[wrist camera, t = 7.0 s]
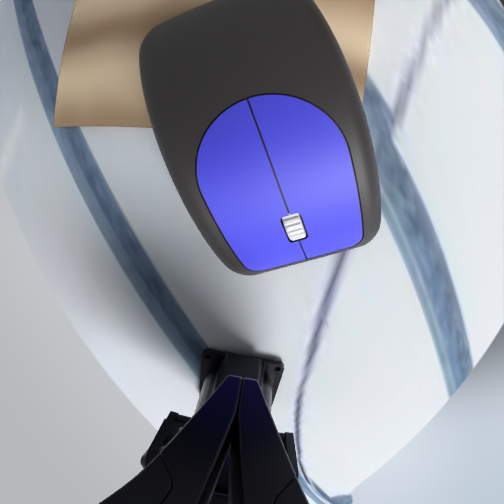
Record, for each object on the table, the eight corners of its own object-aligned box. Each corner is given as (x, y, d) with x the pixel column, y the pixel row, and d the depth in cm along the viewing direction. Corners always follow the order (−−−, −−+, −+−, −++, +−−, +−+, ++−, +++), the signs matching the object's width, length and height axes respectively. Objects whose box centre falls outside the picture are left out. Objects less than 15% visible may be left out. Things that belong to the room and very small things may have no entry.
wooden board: (349, 156, 16) (351, 157, 16) (58, 126, 17) (53, 127, 17) (373, -14, 12) (375, -17, 11) (87, -18, 12) (82, -20, 12)
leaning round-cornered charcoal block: (105, 25, 10) (299, -52, 7) (144, 39, 14) (295, -17, 12) (227, 313, 16) (400, 269, 14) (238, 270, 20) (377, 232, 18)
